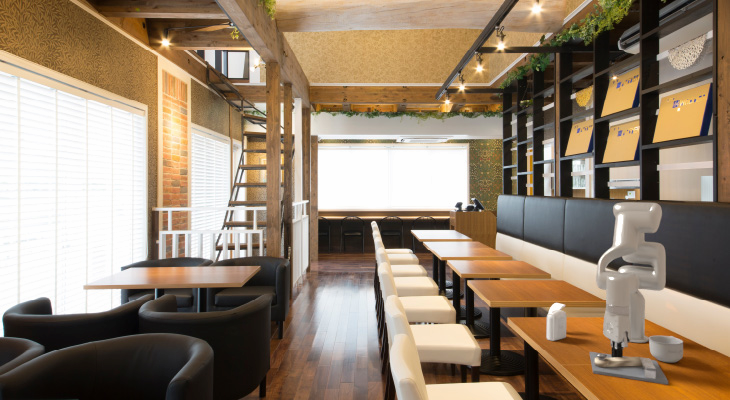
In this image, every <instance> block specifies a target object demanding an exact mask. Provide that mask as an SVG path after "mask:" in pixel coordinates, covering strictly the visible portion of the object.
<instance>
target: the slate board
mask: <svg viewBox="0 0 730 400" xmlns="http://www.w3.org/2000/svg"><path fill="white" fill-rule="evenodd" d="M597 353H598V352H595V351H589V358H590V362H591V369H592V373H593V374H596V375H602V376H607V377H609V376H610V377H614V378H615V377H616V378H623V379H629V380H635V381H641V382H648V383H655V384H661V385H667V386H668V385H669V380H668V379H667V377H666V375H665V373H664V372H663V370H662V368H661V367H660V364H659V363H658V360H655V359H654V360H653V359H650V360H651V361H652V363H653V365H654V366H655V368H656V379H650V378H645V377H644V367H643V366H617V367H606V368H603V367H598V366H596V365H595V358H596V357H598V356H597ZM605 354H606V355H607V357H606V358H612V353H610V354H609V353H605ZM623 357H627V356H624V355H623Z"/></svg>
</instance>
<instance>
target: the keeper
mask: <svg viewBox="0 0 730 400" xmlns="http://www.w3.org/2000/svg"><path fill="white" fill-rule="evenodd" d="M639 357H640V361H641V363H642V365H643V367H644V377H645V378H650V379H656V368H655V366H654V365H653V363H652V361H651V360H652V359H651V358H647V357H641V356H639Z"/></svg>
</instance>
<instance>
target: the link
mask: <svg viewBox="0 0 730 400" xmlns="http://www.w3.org/2000/svg"><path fill="white" fill-rule="evenodd" d="M596 353H597V356H598V357H596V358H595V365H596V366H598V367H603V368H606V367H617V366H643V365H642V363H641V361H640V357H641V356H626V357H614V358H606V357H607V355H606V354H607V353H602V352H596Z"/></svg>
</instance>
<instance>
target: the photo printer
mask: <svg viewBox="0 0 730 400" xmlns="http://www.w3.org/2000/svg"><path fill="white" fill-rule="evenodd" d="M545 329H546V333H545V335H546V336H545V338H546V340H548V341H551V342H553V341H558V340H562V339H565V338H567V313H566V311H565V310H562V309H561V310H553V311H551V312H550V313H549V312H548V313H547V314H546V328H545Z"/></svg>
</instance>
